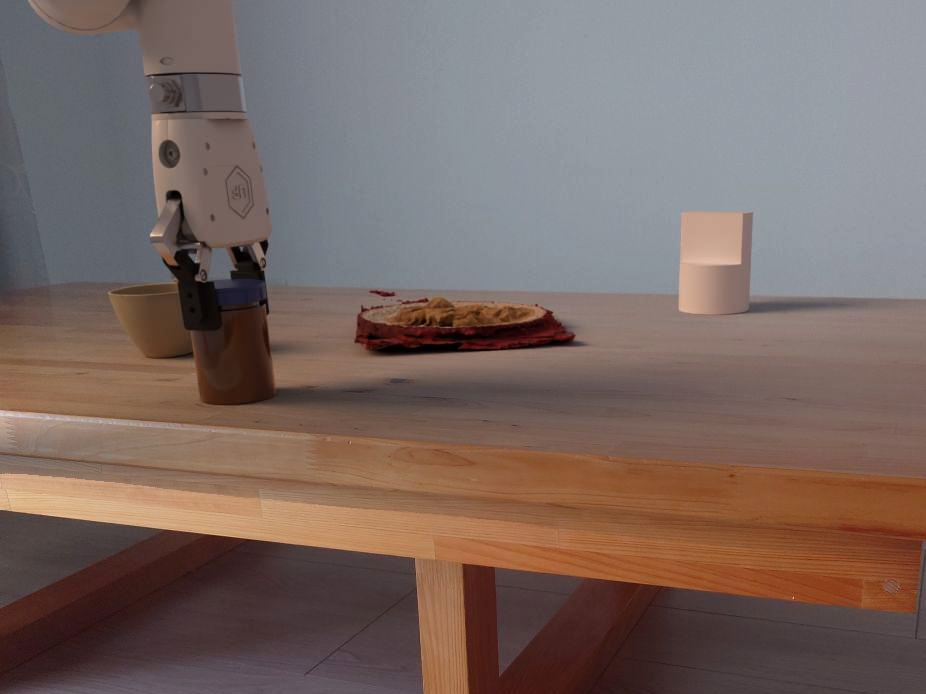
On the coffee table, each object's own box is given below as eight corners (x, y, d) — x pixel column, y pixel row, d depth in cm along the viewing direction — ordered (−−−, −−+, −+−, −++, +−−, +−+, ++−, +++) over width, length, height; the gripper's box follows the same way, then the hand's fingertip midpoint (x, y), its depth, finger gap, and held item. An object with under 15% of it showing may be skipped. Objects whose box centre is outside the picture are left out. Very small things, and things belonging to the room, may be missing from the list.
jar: (219, 408, 86) (204, 299, 83) (188, 396, 91) (172, 292, 88) (289, 395, 90) (277, 291, 87) (255, 384, 95) (242, 285, 92)
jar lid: (283, 296, 89) (281, 280, 89) (227, 307, 83) (224, 290, 83) (224, 293, 92) (221, 277, 92) (166, 304, 86) (163, 287, 86)
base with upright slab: (666, 311, 130) (668, 214, 125) (697, 302, 137) (700, 209, 132) (730, 316, 125) (734, 215, 120) (760, 306, 132) (764, 210, 127)
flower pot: (152, 345, 117) (142, 282, 115) (231, 345, 115) (222, 281, 113) (100, 362, 108) (88, 294, 106) (185, 363, 106) (174, 293, 103)
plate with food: (355, 359, 107) (352, 326, 105) (362, 316, 130) (360, 289, 129) (576, 351, 109) (577, 319, 108) (544, 310, 133) (544, 284, 132)
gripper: (171, 96, 73) (207, 341, 80) (293, 103, 89) (315, 308, 95) (85, 100, 75) (128, 339, 82) (219, 106, 91) (246, 307, 97)
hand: (228, 321), depth 88 cm, fingers closed on jar lid, 7 cm apart
